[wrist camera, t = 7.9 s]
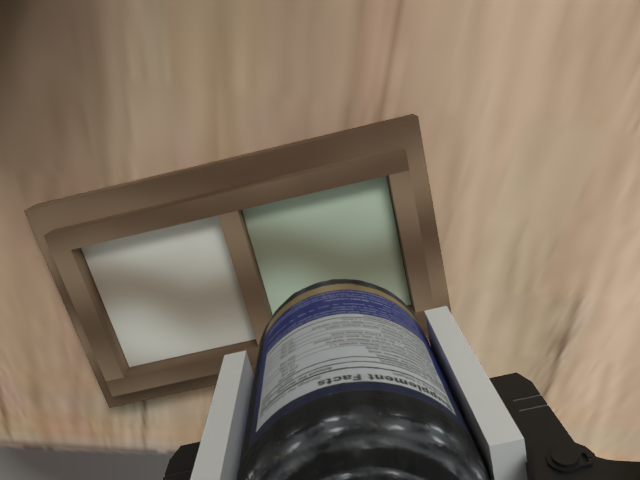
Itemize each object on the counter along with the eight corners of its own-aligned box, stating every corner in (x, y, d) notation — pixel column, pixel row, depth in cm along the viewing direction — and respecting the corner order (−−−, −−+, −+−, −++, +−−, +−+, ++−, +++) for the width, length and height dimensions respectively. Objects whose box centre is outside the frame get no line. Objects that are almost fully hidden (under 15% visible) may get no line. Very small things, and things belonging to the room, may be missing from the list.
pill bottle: (388, 436, 21) (474, 806, 10) (239, 396, 20) (168, 751, 10) (448, 299, 19) (624, 575, 9) (287, 250, 18) (265, 488, 8)
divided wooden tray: (35, 204, 28) (13, 216, 25) (412, 113, 27) (422, 118, 25) (116, 395, 31) (103, 419, 29) (448, 322, 30) (459, 341, 28)
